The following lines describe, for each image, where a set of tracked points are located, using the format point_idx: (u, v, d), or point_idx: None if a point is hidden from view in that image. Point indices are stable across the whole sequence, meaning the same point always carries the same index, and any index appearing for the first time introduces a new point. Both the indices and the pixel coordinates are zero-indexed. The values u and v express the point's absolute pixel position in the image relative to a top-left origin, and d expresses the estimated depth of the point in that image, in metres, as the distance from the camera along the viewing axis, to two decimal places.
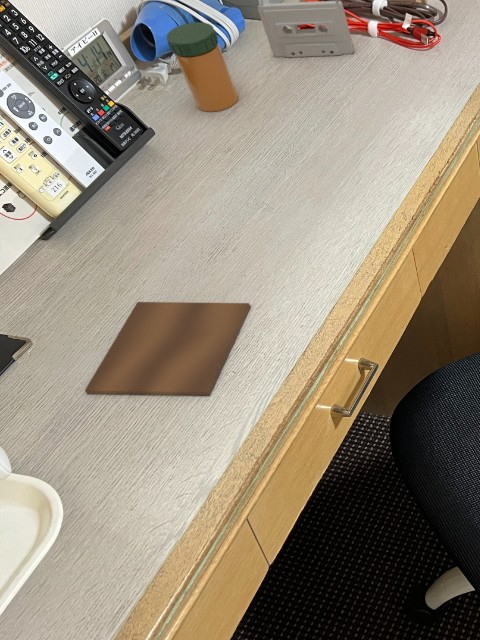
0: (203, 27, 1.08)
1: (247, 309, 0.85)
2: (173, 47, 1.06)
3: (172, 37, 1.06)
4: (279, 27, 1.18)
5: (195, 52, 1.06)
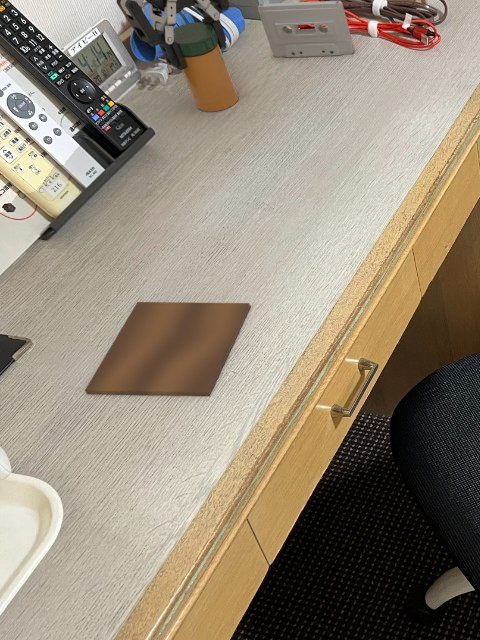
0: (203, 27, 1.08)
1: (247, 309, 0.85)
2: None
3: None
4: (279, 27, 1.18)
5: (195, 52, 1.06)
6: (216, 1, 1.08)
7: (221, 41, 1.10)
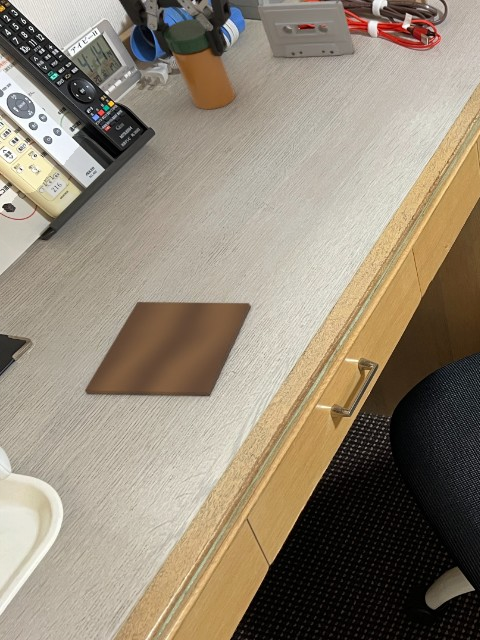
0: (173, 28, 1.07)
1: (247, 309, 0.85)
2: None
3: (199, 33, 1.06)
4: (279, 27, 1.18)
5: None
6: (142, 12, 1.06)
7: None
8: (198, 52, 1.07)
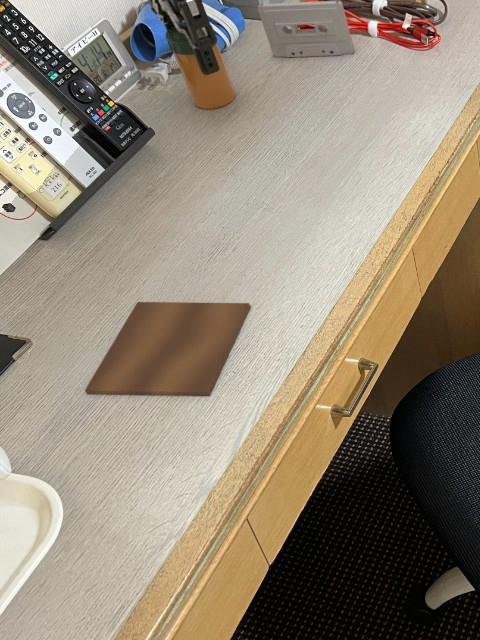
0: (176, 30, 1.07)
1: (247, 309, 0.85)
2: None
3: (201, 35, 1.06)
4: (279, 27, 1.18)
5: None
6: None
7: None
8: None
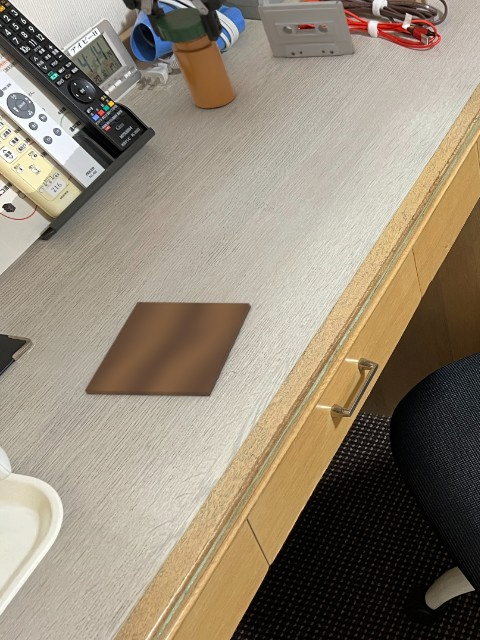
0: (193, 12, 1.06)
1: (247, 309, 0.85)
2: (163, 33, 1.03)
3: (162, 23, 1.04)
4: (279, 27, 1.18)
5: (186, 38, 1.04)
6: None
7: None
8: (198, 50, 1.07)
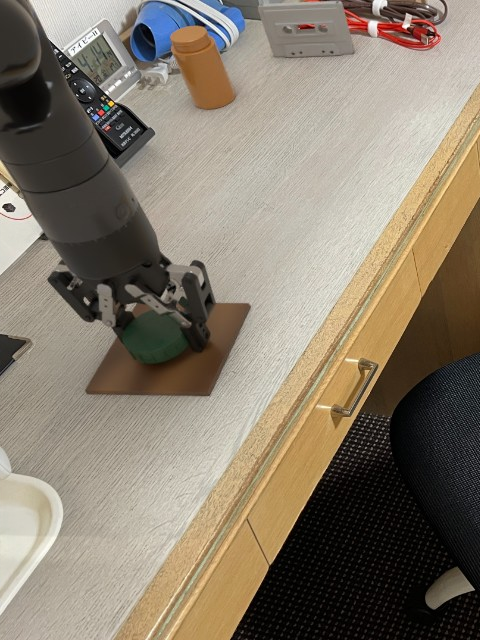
0: None
1: (247, 309, 0.85)
2: (132, 353, 0.78)
3: (130, 338, 0.78)
4: (279, 27, 1.18)
5: (161, 359, 0.78)
6: (96, 303, 0.78)
7: None
8: (198, 52, 1.07)
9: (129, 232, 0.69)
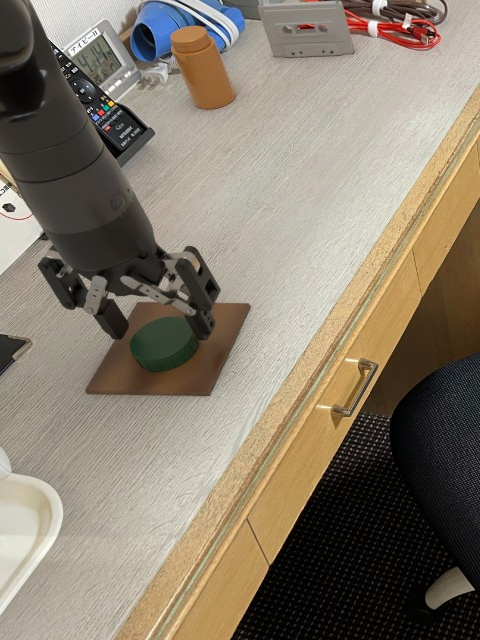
0: (179, 326, 0.81)
1: (247, 309, 0.85)
2: (139, 361, 0.79)
3: (137, 347, 0.79)
4: (279, 27, 1.18)
5: (168, 367, 0.79)
6: (78, 291, 0.77)
7: None
8: (198, 52, 1.07)
9: (124, 223, 0.69)
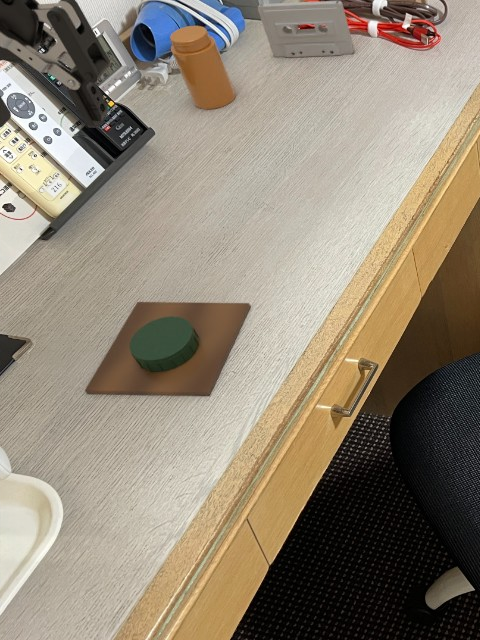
0: (179, 326, 0.81)
1: (247, 309, 0.85)
2: (139, 361, 0.79)
3: (137, 347, 0.79)
4: (279, 27, 1.18)
5: (168, 367, 0.79)
6: None
7: None
8: (198, 52, 1.07)
9: None
